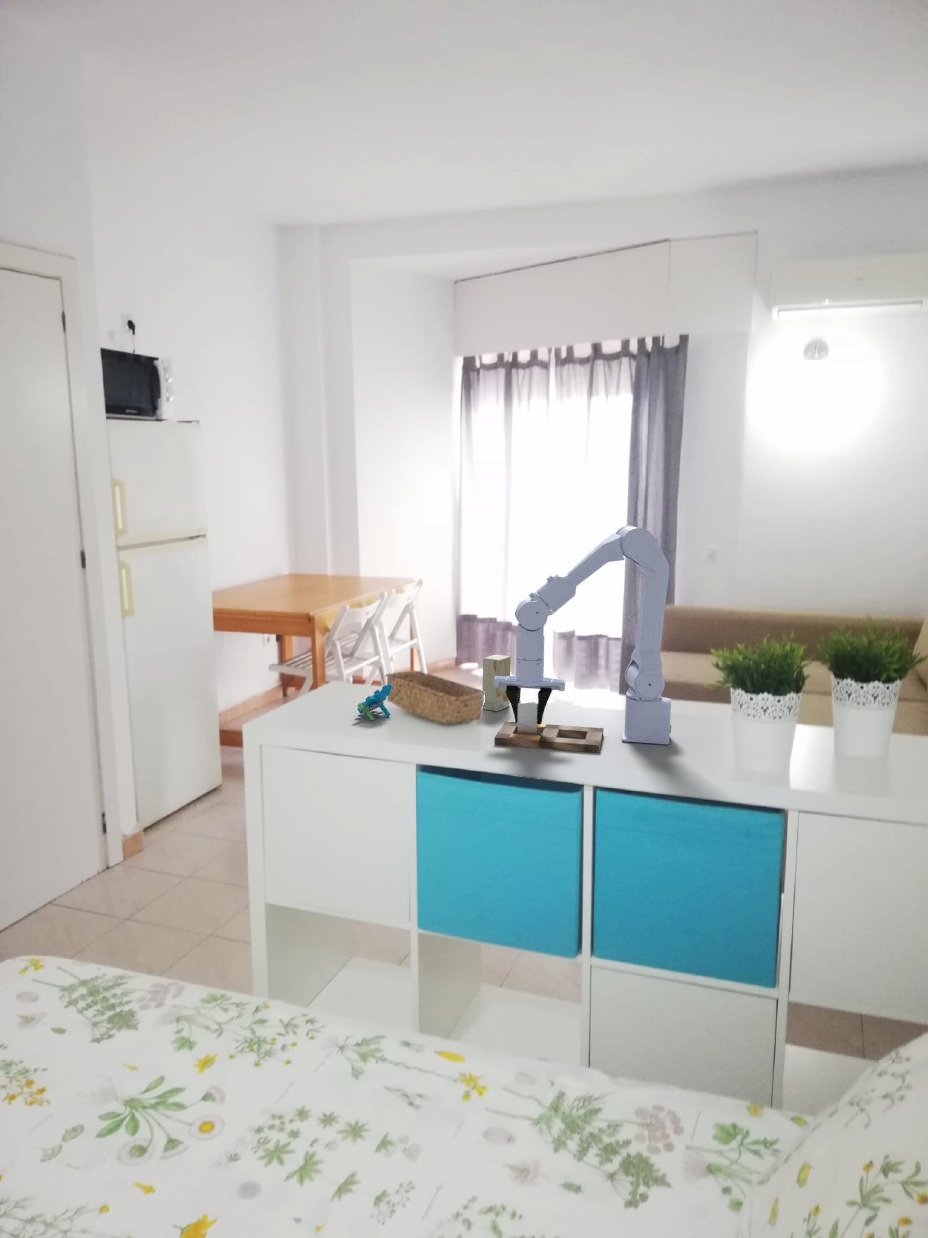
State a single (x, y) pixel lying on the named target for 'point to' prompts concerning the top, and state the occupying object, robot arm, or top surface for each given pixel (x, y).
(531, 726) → the steel block
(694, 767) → the top surface
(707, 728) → the top surface
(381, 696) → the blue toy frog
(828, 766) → the top surface
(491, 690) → the skincare box
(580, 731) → the socket plate
